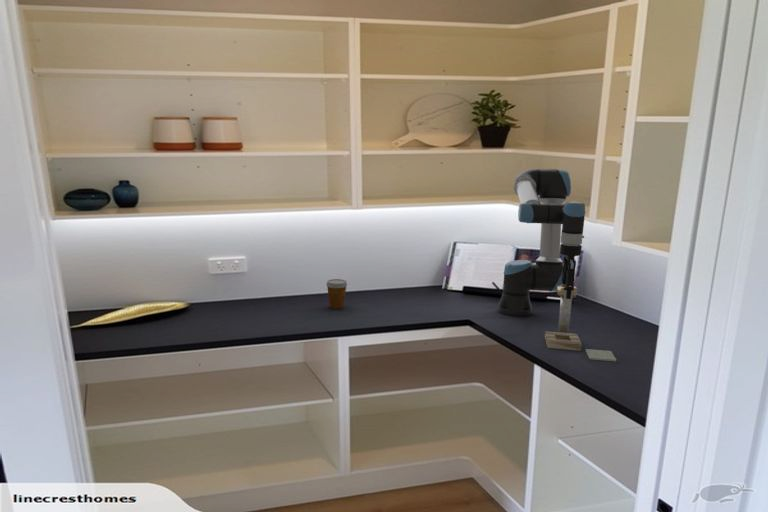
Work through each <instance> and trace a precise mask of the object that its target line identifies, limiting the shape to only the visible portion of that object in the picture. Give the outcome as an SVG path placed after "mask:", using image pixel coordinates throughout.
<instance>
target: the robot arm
mask: <svg viewBox="0 0 768 512" xmlns="http://www.w3.org/2000/svg"><path fill="white" fill-rule="evenodd" d="M512 188H513V191H514V194H516V196H517V197H518V199H519V202H520V204H519V206H518V212H517V215H518V216H517V217H518V221H519V222H520V223H526V224H541V225H540V240H539V241H540V243H539V257H538V258H536V260H535V263H534V264H533V262H532V261H531V260H527V259H526V260H525V259H518V260H517V259H516V260H511V261H508V262H507V263H505V265H504V270H503V285H502V295H501V298H500V300H499V302H498V305H497V311H498V312H499V313H501V314H503V315H506V316H512V317H527V316H529V315H531V314H532V313H533V307H532V302H531V299H530V291H540V292H544V291H545V292H557V287H558V286H559V285H566V288H563V290H565V292H564V303H563V307H571V308H572V302H573V298H572V292H573V290H574V287H575V278H576V277H575V276H576V267H577V260H576V259H575V257H578V256H581V255H582V248H583V246H582V244H583V239H585V235H583V234H584V233H583V232H584V226H585V216H586V204H585V203H584V202H582V201H581V202H580V201H567V197H570V195H571V188H572V182H571V177H570V174H569V172H568V171H567V170H564V169H558V168H556V169H555V168H553V169H551V168H549V169H548V168H547V169H546V168H545V169H543V168H530V169H526V170H525V171H523V172H521V173H519V174H518V175H517V177H516V178H515V179H514V182H513V186H512ZM565 201H566V202H565ZM560 255H563V259H562V258H561V257H560ZM569 286H571V287H569Z"/></svg>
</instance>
